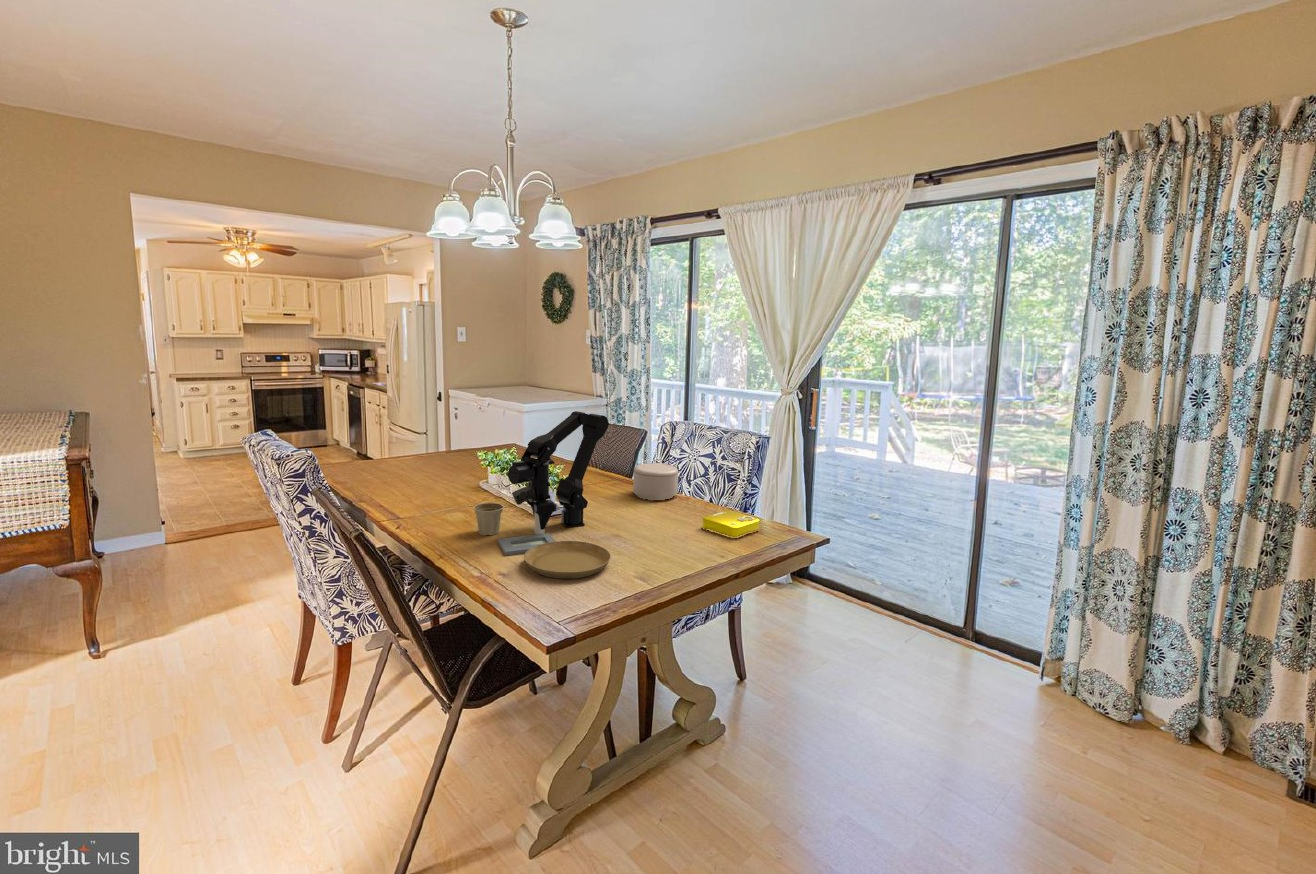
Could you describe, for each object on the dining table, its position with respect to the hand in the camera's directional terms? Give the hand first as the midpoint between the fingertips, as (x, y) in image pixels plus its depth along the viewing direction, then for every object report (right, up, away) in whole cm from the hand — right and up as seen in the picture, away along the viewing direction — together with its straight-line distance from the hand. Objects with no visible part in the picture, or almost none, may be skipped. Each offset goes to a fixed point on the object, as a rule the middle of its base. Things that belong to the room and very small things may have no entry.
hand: (539, 526), depth 200 cm
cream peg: (0, -3, 0) cm, 2 cm away
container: (+37, +5, +51) cm, 63 cm away
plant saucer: (+13, -8, -25) cm, 29 cm away
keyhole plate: (-1, -4, -11) cm, 12 cm away
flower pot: (-16, -2, 0) cm, 16 cm away
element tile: (+63, -3, +12) cm, 64 cm away
